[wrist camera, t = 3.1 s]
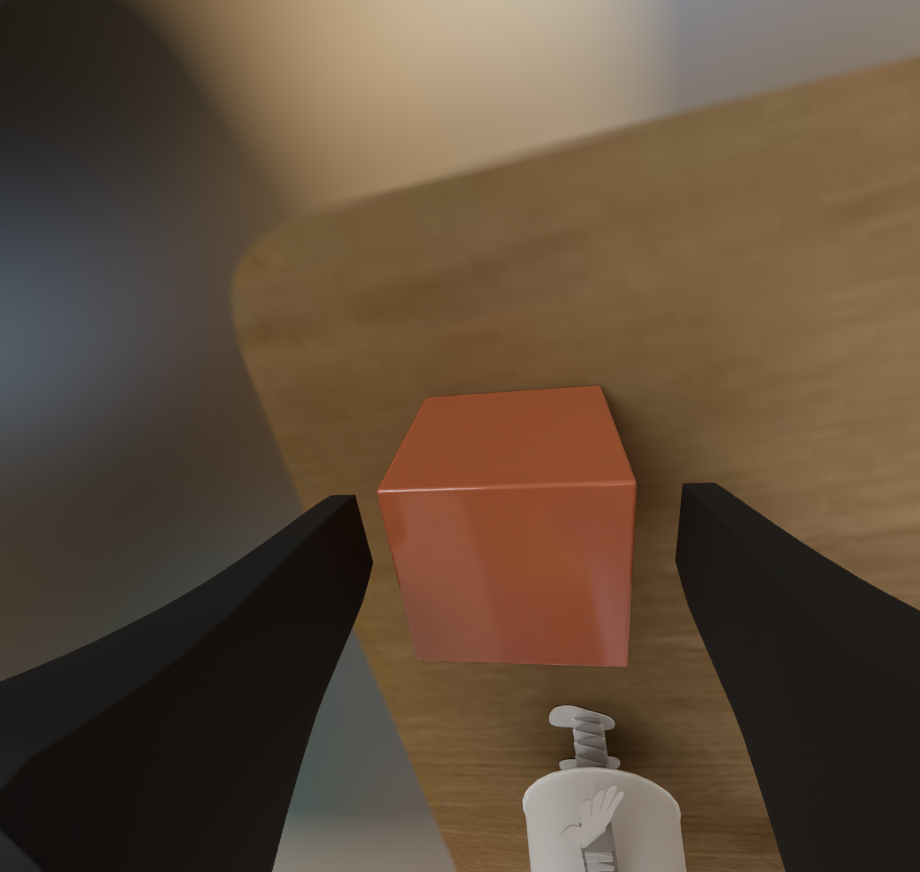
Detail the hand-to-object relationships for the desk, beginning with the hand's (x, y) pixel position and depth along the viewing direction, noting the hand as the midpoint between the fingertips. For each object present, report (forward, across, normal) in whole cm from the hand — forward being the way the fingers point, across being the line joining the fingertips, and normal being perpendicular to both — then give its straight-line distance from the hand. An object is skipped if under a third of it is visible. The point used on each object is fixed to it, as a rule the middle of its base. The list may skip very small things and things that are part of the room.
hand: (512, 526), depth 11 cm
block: (+3, 0, 0) cm, 3 cm away
